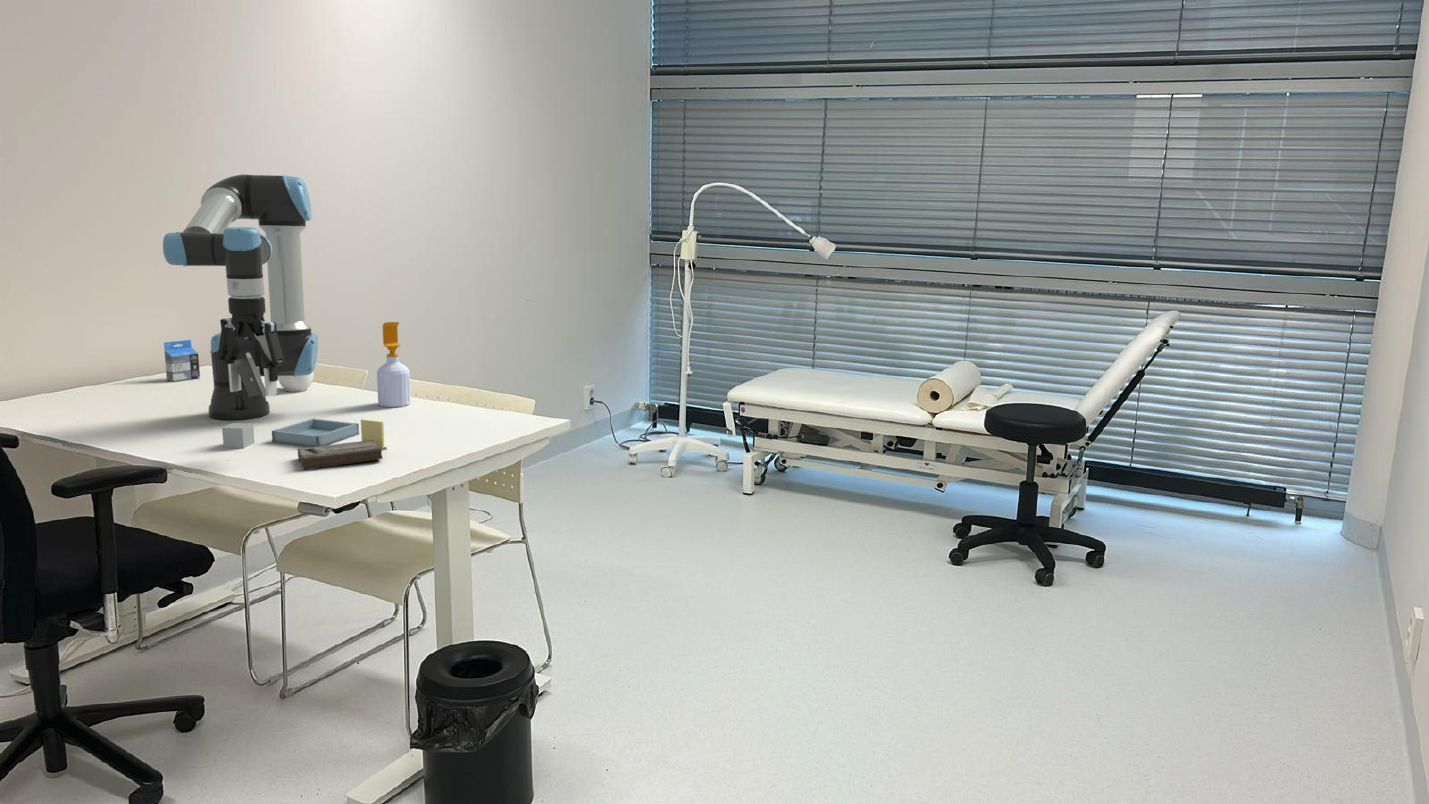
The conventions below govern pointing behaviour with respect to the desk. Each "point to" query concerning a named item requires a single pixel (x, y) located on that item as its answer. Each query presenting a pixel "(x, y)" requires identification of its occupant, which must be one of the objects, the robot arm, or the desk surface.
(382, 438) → the label card
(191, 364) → the label tape cartridge
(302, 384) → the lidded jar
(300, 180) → the robot arm
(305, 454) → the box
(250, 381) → the electrical switch
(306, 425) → the parts tray
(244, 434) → the grey block
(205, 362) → the desk surface
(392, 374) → the soap bottle
